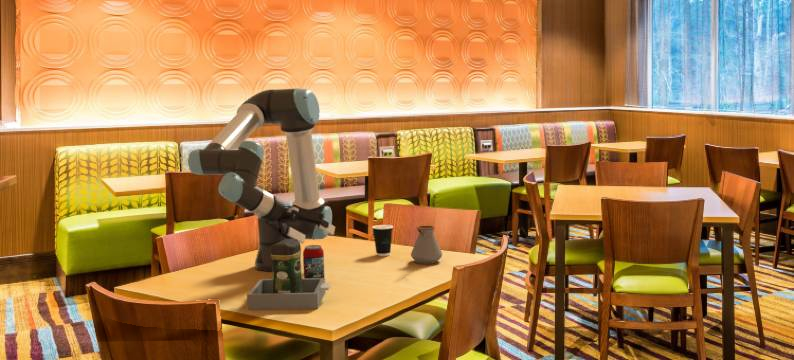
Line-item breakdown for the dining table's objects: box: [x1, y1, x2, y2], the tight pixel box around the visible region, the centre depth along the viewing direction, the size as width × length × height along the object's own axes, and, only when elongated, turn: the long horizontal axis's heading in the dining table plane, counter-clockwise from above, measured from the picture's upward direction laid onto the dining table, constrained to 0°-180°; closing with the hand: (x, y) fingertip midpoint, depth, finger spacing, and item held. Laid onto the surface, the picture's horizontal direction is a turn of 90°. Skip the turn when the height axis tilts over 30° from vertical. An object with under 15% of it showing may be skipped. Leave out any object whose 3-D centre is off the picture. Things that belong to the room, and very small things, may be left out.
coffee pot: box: [410, 225, 443, 265], centre depth 269 cm, size 21×12×15 cm, turn 168°
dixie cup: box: [371, 224, 394, 257], centre depth 288 cm, size 8×8×11 cm
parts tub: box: [246, 277, 331, 311], centre depth 226 cm, size 18×23×4 cm
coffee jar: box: [271, 239, 303, 293], centre depth 225 cm, size 10×8×19 cm
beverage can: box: [302, 244, 325, 279], centre depth 247 cm, size 7×7×12 cm
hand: (318, 235), depth 234 cm, fingers open, 13 cm apart
